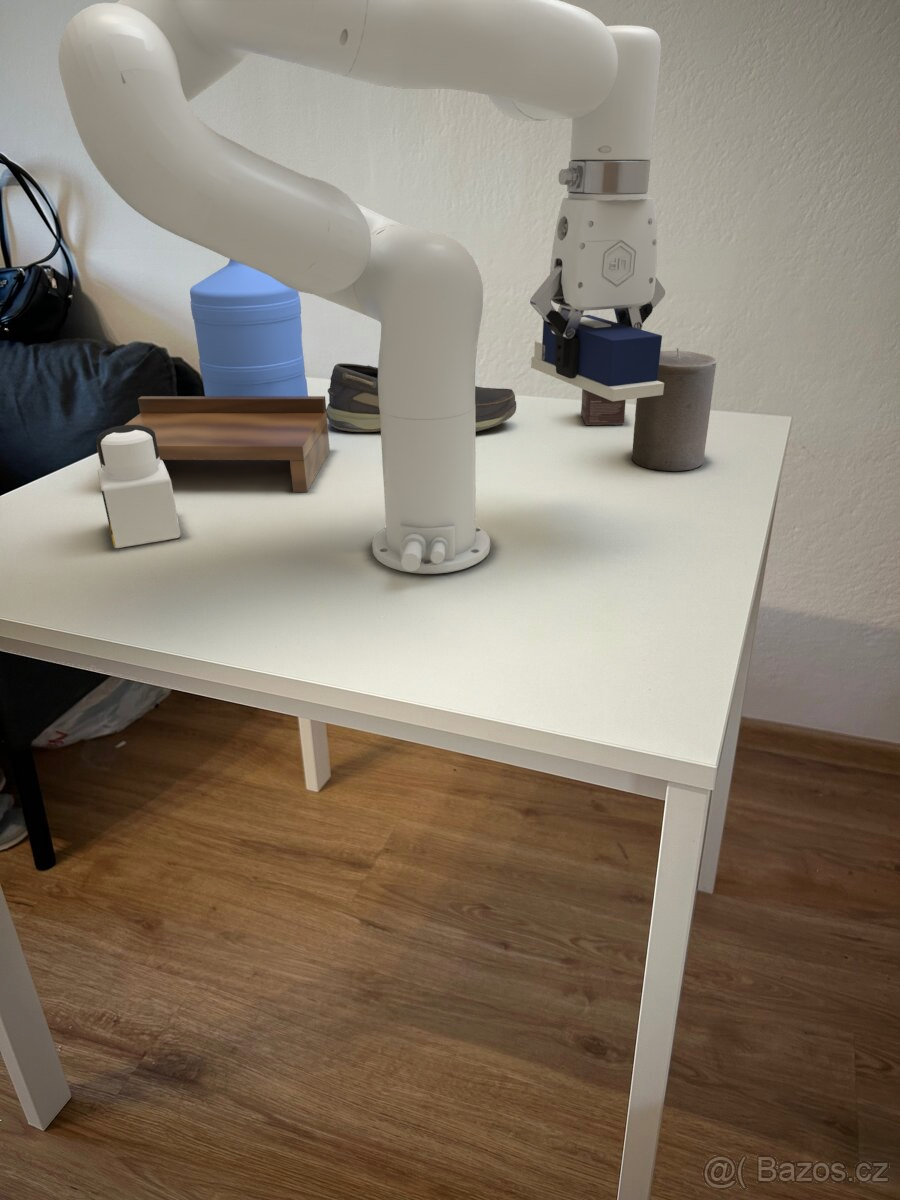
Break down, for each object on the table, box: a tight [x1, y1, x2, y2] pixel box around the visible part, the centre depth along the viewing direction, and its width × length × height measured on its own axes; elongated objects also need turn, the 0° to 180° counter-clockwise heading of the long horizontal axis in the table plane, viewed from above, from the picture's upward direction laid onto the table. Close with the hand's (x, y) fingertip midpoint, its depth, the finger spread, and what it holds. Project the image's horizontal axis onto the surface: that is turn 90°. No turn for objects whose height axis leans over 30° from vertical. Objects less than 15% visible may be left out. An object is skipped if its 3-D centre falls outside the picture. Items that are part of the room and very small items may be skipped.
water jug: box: [189, 259, 309, 396], centre depth 127 cm, size 16×16×28 cm
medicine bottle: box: [95, 424, 181, 549], centre depth 95 cm, size 7×7×12 cm
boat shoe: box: [326, 362, 517, 433], centre depth 130 cm, size 11×29×11 cm, turn 89°
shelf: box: [96, 395, 331, 493], centre depth 114 cm, size 16×26×8 cm, turn 87°
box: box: [580, 388, 627, 426], centre depth 133 cm, size 6×6×7 cm
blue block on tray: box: [530, 314, 664, 401], centre depth 89 cm, size 16×6×6 cm, turn 25°
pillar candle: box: [630, 347, 718, 472], centre depth 114 cm, size 10×10×15 cm
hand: (593, 370), depth 90 cm, fingers closed on blue block on tray, 6 cm apart
